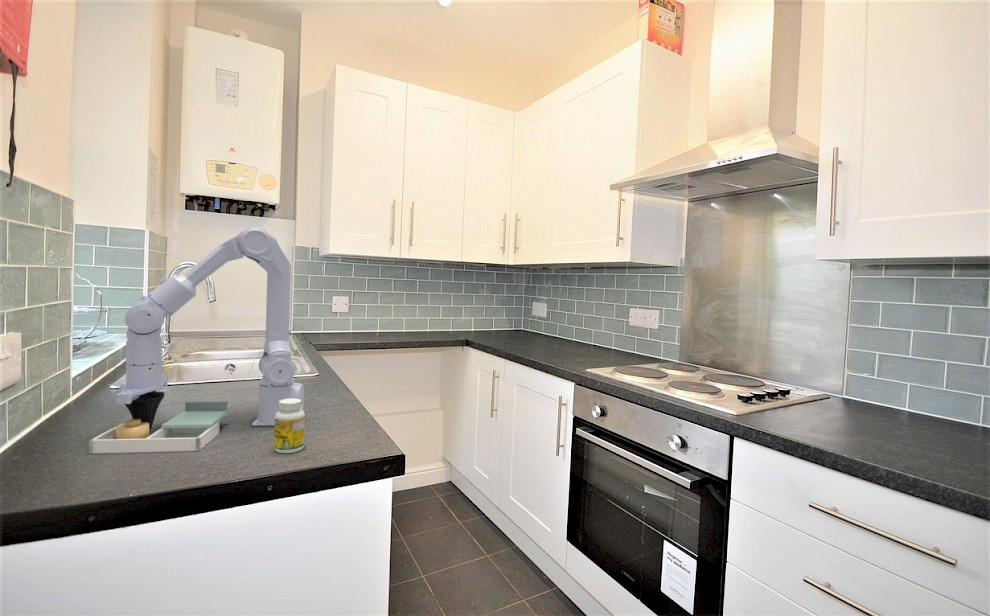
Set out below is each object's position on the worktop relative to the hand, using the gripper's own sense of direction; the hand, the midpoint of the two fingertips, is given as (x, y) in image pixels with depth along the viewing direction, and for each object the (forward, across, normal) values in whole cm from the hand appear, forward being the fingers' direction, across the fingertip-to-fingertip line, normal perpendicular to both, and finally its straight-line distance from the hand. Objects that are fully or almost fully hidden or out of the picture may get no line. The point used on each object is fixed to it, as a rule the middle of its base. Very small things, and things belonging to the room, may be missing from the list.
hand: (144, 430), depth 93 cm
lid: (-1, -3, +9) cm, 9 cm away
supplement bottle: (+2, +9, +29) cm, 31 cm away
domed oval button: (+1, +4, 0) cm, 4 cm away
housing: (+1, +4, +4) cm, 6 cm away
